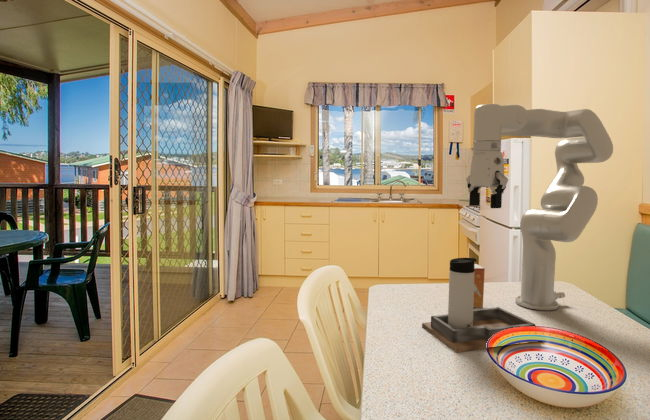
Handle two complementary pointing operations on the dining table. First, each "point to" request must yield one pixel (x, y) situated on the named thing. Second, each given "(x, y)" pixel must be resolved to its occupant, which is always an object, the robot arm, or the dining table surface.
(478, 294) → the small box
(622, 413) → the dining table surface
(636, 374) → the dining table surface
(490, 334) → the keyhole cradle
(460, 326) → the travel mug
